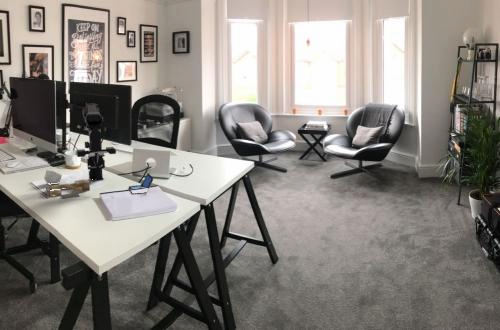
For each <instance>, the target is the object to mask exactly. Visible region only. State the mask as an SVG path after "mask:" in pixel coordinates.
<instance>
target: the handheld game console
mask: <svg viewBox="0 0 500 330" xmlns="http://www.w3.org/2000/svg"><path fill="white" fill-rule="evenodd" d="M153 181H154V177H153V176H152V175H151V174H150V173H149V172H147V174H146V175H145V178H144V179H143V181H142V182H141V184H139V185H138V184H136V185H129V186H128V189H129V190H130V189H137V188H142V187H146V188H148V189H149V188H150V186H151V185H152V183H153Z"/></svg>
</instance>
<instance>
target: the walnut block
mask: <svg viewBox="0 0 500 330" xmlns="http://www.w3.org/2000/svg"><path fill="white" fill-rule="evenodd" d="M74 183H75V188H74V189H75V190H76V188H79V187H82V192H86V191H88V192H89V191H91V190H90V189H91V188H90V181H89V180H88V179H79V180H74Z"/></svg>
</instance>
